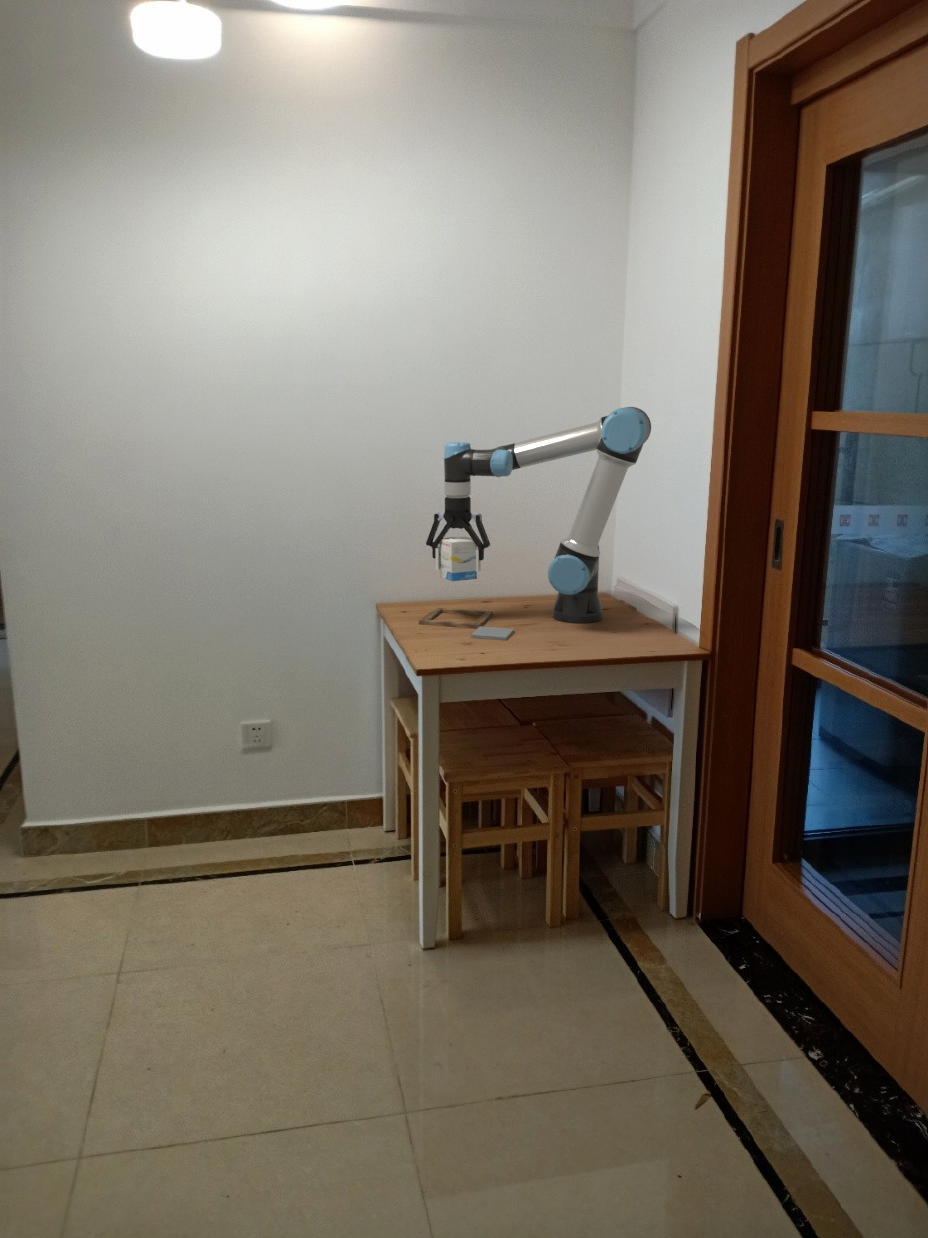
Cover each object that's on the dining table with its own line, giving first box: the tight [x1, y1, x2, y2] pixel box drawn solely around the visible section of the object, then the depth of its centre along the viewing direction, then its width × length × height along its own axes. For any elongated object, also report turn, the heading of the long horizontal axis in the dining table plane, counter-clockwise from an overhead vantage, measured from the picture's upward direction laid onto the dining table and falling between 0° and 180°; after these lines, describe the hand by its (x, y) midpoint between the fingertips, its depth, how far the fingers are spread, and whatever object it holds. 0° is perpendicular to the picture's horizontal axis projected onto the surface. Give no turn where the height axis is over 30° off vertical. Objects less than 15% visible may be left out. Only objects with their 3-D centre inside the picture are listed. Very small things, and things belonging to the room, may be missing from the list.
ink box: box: [439, 536, 478, 582], centre depth 297 cm, size 9×8×12 cm
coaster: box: [470, 625, 515, 641], centre depth 284 cm, size 10×10×1 cm
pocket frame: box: [418, 607, 495, 629], centre depth 302 cm, size 18×18×1 cm
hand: (458, 570), depth 298 cm, fingers closed on ink box, 11 cm apart
